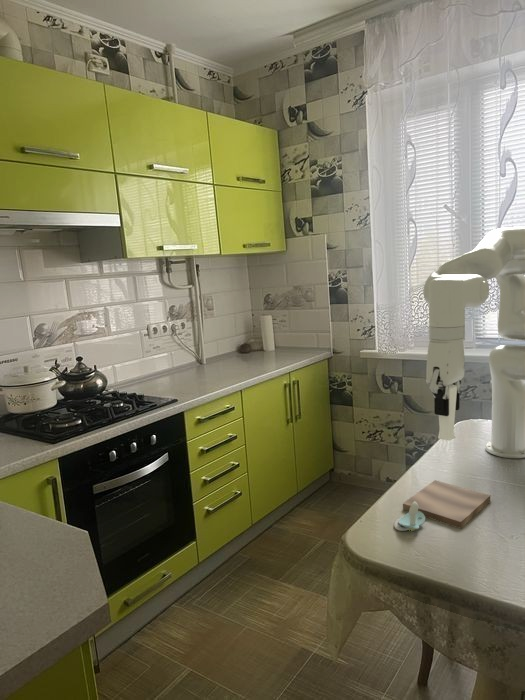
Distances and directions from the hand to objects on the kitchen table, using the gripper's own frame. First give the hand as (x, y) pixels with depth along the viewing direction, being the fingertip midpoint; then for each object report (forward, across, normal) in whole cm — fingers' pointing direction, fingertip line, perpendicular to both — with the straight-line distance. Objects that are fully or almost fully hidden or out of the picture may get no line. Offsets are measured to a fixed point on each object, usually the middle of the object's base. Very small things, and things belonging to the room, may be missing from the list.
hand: (447, 411), depth 118 cm
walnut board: (+23, 0, 0) cm, 23 cm away
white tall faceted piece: (+7, 0, 0) cm, 7 cm away
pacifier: (+23, +14, -2) cm, 28 cm away
